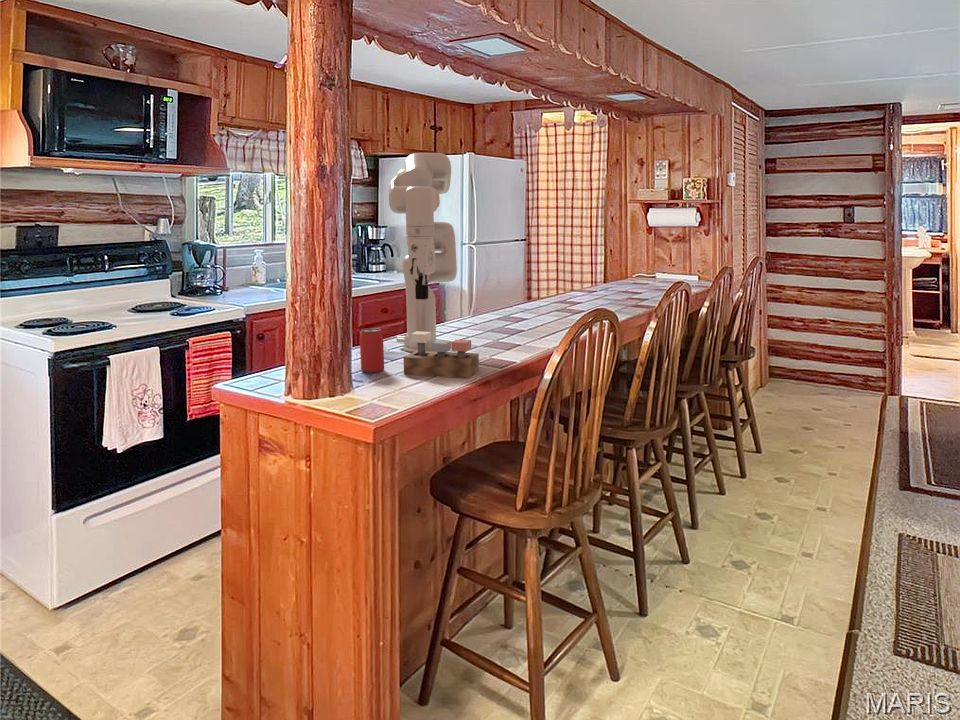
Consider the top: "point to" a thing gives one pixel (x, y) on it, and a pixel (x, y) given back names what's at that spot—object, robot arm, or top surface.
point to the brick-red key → (461, 347)
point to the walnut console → (441, 364)
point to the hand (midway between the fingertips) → (422, 298)
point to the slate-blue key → (440, 347)
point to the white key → (421, 340)
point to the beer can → (371, 350)
